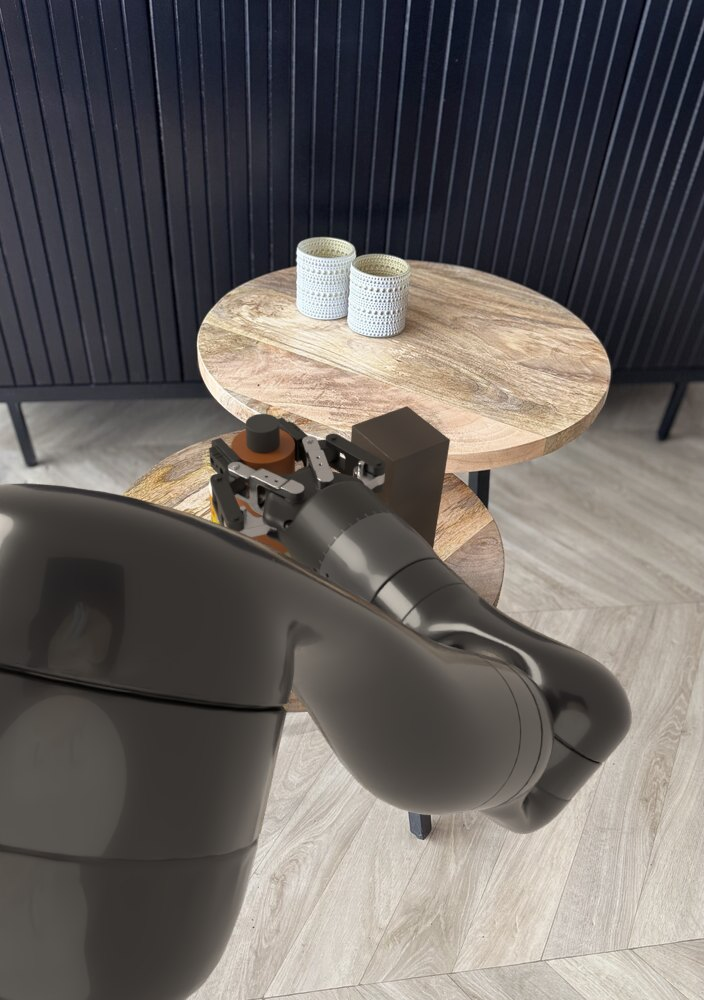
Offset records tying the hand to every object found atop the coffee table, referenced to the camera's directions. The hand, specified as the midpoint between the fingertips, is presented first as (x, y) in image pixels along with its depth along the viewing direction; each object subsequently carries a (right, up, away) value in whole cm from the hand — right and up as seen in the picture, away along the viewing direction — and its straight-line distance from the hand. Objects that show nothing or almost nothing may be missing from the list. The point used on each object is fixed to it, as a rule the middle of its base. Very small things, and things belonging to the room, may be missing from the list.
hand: (247, 438), depth 66 cm
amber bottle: (+1, -8, +4) cm, 9 cm away
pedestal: (+12, -16, +17) cm, 26 cm away
